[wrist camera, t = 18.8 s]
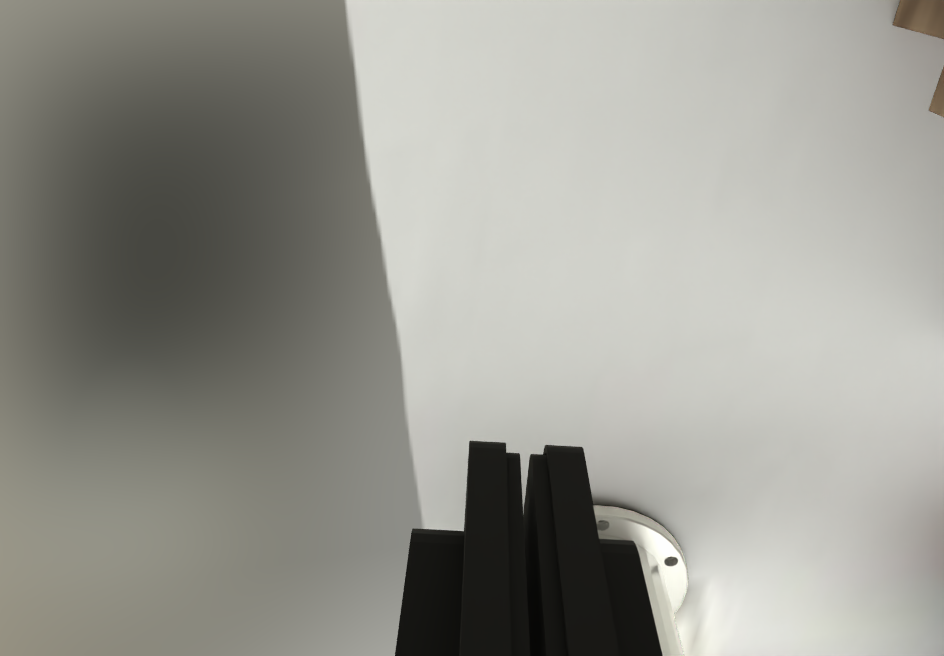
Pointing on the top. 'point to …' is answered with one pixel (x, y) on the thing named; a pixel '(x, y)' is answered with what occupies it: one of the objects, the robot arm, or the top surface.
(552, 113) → the top surface
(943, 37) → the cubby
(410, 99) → the top surface
